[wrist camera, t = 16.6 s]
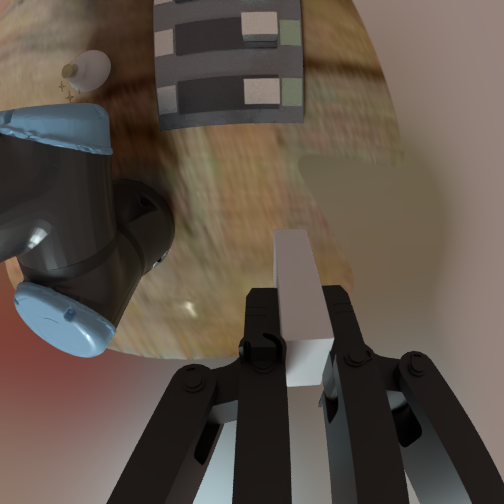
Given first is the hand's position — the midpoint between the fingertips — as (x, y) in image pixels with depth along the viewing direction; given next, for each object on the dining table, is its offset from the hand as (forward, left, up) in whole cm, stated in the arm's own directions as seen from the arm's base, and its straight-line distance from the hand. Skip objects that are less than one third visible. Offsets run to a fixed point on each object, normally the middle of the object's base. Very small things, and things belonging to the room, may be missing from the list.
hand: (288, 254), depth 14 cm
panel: (-5, +16, -24) cm, 30 cm away
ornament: (-23, +14, -25) cm, 36 cm away
